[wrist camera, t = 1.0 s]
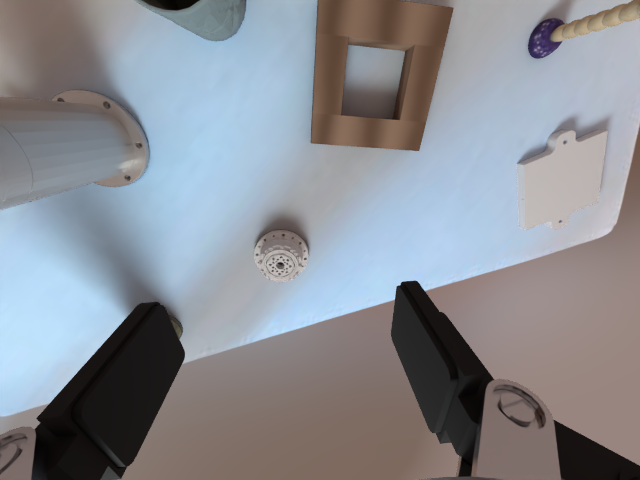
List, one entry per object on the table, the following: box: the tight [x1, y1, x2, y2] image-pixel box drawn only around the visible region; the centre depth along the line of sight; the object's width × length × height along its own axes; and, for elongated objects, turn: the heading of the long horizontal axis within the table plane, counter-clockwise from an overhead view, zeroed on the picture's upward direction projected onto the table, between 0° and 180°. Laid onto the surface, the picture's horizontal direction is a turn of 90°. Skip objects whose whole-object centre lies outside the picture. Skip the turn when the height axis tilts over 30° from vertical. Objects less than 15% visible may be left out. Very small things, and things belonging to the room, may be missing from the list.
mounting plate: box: [517, 130, 608, 230], centre depth 42 cm, size 18×13×2 cm
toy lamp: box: [528, 0, 640, 58], centre depth 25 cm, size 5×5×17 cm
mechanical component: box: [254, 230, 309, 283], centre depth 43 cm, size 10×4×10 cm
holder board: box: [311, 0, 453, 151], centre depth 32 cm, size 16×16×3 cm
